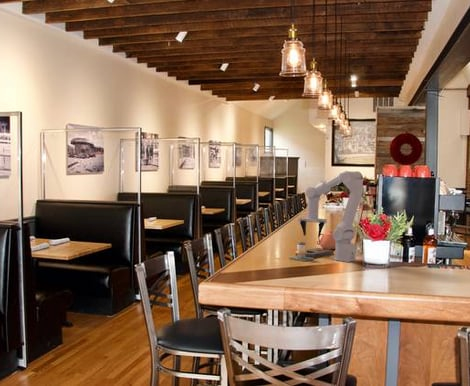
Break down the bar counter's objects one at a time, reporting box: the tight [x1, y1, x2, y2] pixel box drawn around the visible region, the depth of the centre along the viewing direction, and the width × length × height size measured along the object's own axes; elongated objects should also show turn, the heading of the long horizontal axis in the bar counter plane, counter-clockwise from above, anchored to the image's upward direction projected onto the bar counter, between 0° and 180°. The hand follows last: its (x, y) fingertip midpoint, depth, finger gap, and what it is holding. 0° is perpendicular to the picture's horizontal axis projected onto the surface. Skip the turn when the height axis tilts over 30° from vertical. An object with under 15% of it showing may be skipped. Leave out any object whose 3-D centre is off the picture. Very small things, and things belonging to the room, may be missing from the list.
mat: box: [288, 255, 315, 262], centre depth 243 cm, size 9×8×1 cm
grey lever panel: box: [295, 247, 335, 259], centre depth 256 cm, size 10×20×2 cm, turn 136°
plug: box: [295, 241, 307, 259], centre depth 243 cm, size 6×6×8 cm
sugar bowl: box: [316, 230, 336, 250], centre depth 278 cm, size 12×14×10 cm
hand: (311, 236), depth 259 cm, fingers open, 7 cm apart
